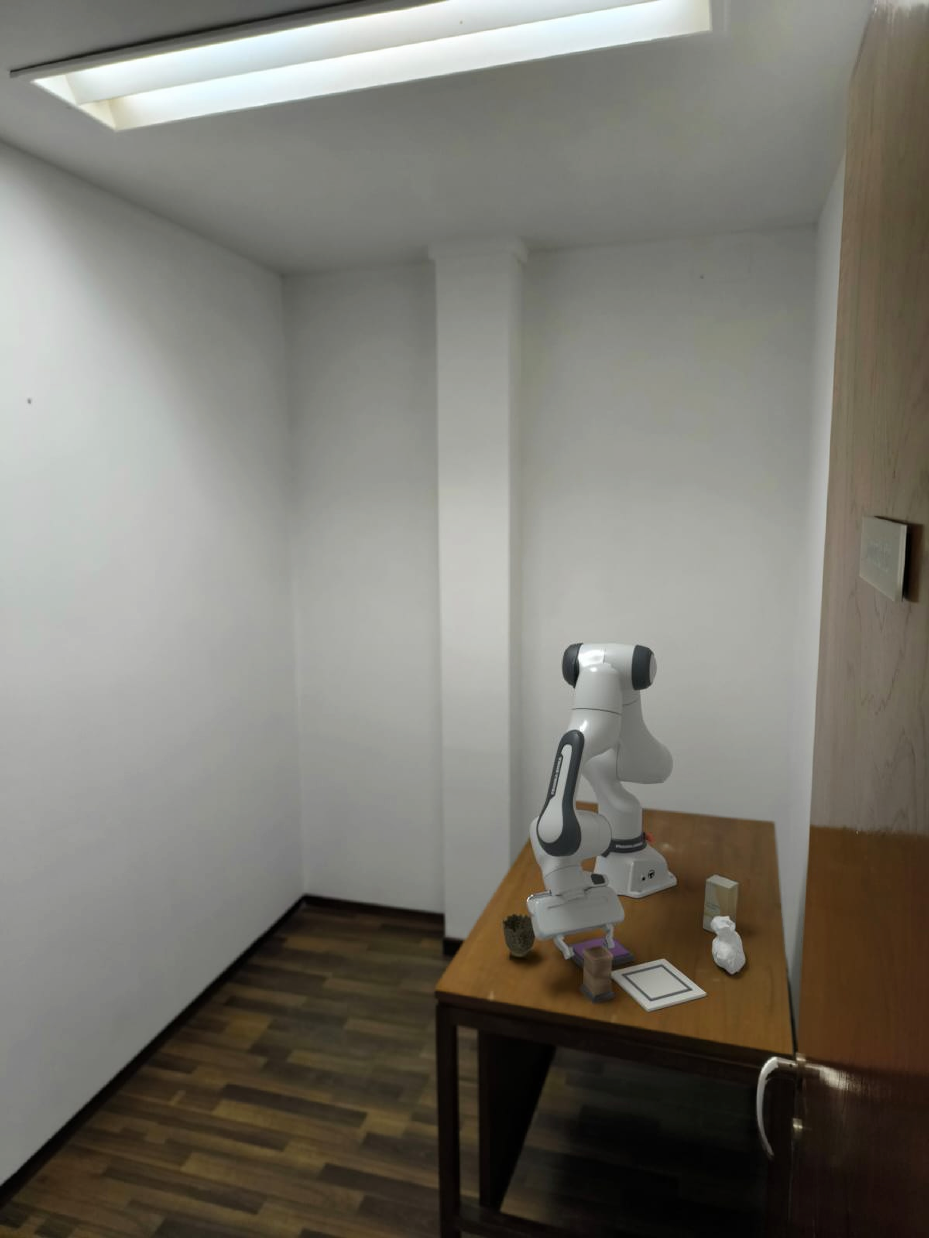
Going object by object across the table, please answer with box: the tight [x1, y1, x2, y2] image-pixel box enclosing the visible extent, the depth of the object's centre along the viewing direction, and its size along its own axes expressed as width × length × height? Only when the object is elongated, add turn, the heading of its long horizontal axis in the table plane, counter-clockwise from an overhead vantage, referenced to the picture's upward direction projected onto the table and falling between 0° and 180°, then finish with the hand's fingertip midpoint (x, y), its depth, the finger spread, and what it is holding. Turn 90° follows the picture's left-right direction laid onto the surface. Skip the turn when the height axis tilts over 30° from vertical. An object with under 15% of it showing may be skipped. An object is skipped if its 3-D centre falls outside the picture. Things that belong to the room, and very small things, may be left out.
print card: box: [611, 958, 707, 1013], centre depth 167 cm, size 14×14×1 cm
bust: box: [711, 916, 746, 975], centre depth 175 cm, size 12×8×11 cm
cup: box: [502, 913, 536, 960], centre depth 178 cm, size 8×7×8 cm
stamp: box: [579, 945, 615, 1004], centre depth 163 cm, size 5×5×9 cm
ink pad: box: [566, 936, 635, 971], centre depth 178 cm, size 12×9×2 cm
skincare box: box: [702, 874, 739, 935], centre depth 188 cm, size 6×4×12 cm
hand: (590, 953), depth 165 cm, fingers open, 8 cm apart
